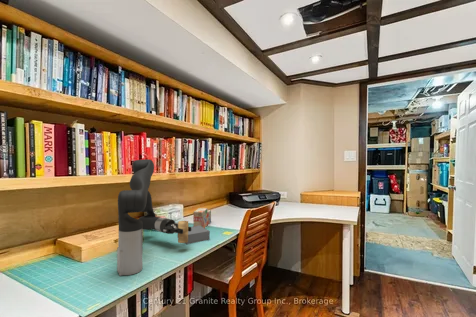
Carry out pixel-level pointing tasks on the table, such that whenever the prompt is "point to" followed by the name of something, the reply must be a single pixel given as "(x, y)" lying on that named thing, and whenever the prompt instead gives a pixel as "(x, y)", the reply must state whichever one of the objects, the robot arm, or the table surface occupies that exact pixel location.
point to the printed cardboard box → (202, 217)
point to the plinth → (198, 234)
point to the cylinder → (183, 237)
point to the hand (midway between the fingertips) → (186, 230)
